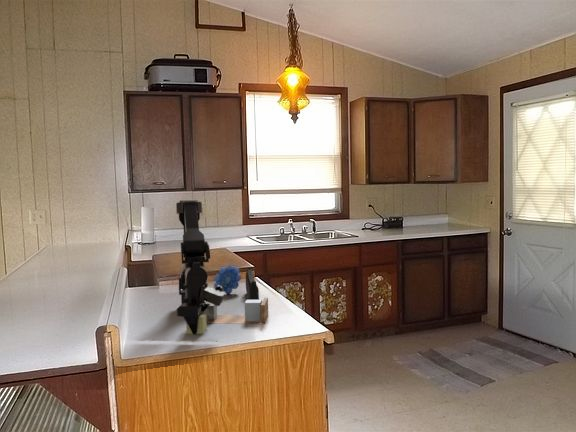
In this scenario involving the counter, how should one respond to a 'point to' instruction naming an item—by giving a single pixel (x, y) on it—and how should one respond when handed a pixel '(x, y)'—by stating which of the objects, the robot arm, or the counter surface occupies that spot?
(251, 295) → the magazine
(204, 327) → the pale yellow block
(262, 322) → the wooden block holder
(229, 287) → the grapes
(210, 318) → the grey cube-like block
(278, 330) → the counter surface
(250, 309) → the pale blue block
